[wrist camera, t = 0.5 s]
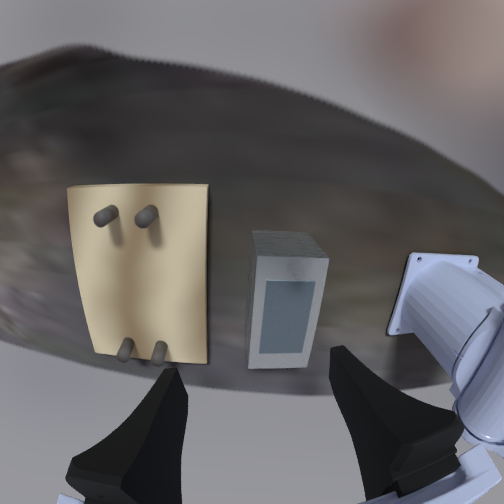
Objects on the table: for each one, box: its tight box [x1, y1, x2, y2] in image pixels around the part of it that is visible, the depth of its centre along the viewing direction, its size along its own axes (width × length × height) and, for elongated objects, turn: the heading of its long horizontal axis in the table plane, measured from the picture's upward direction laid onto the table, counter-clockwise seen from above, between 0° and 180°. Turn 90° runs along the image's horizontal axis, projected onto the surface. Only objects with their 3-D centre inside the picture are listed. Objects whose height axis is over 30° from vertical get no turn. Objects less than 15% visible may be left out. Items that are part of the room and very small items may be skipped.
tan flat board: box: [67, 184, 209, 367], centre depth 19 cm, size 10×14×3 cm
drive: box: [245, 230, 329, 369], centre depth 19 cm, size 4×8×5 cm, turn 176°
